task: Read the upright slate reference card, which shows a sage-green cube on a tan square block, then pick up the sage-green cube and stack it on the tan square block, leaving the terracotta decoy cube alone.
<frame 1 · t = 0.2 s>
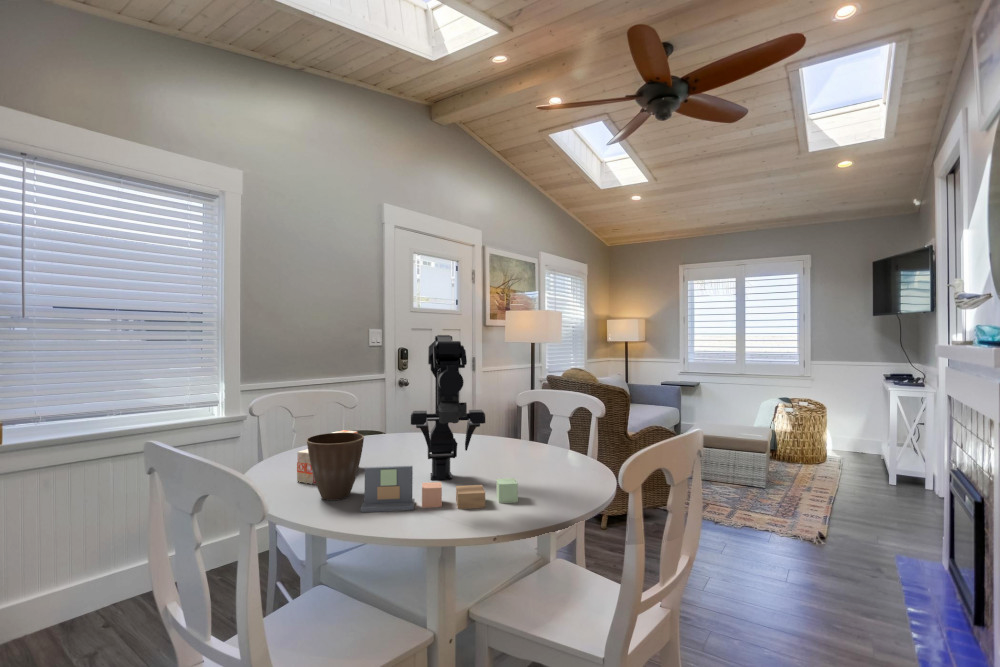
hand: (448, 450, 130), 14 cm above the table, fingers open, 9 cm apart
plant pot: (335, 496, 139), on the table
terracotta decoy: (431, 504, 132), on the table
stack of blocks: (329, 475, 160), on the table
reference card: (388, 507, 130), on the table
sage block: (506, 499, 136), on the table
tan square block: (470, 504, 133), on the table
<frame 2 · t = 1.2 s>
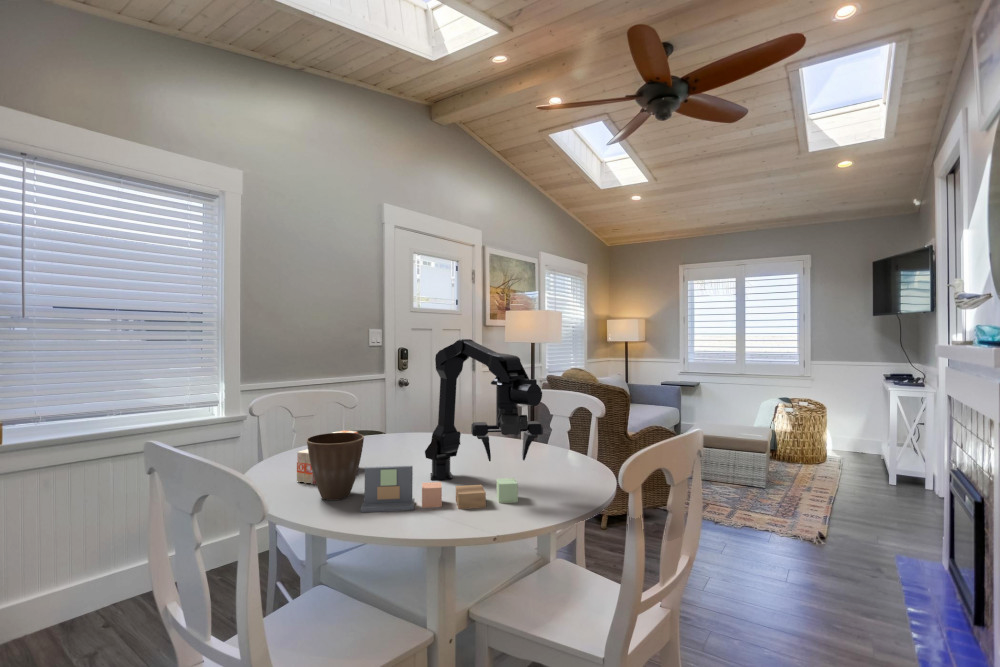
hand: (506, 460, 136), 10 cm above the table, fingers open, 9 cm apart
nothing on the table moved.
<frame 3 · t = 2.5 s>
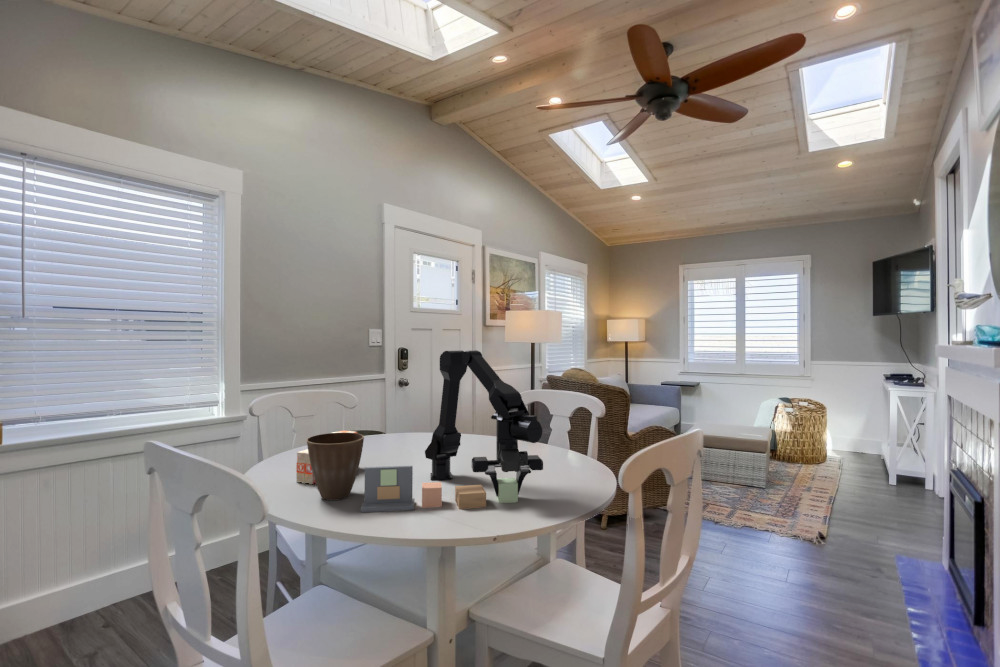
hand: (507, 495, 136), 1 cm above the table, fingers closed on sage block, 5 cm apart
sage block: (507, 499, 136), on the table, touching gripper
everything else where it was.
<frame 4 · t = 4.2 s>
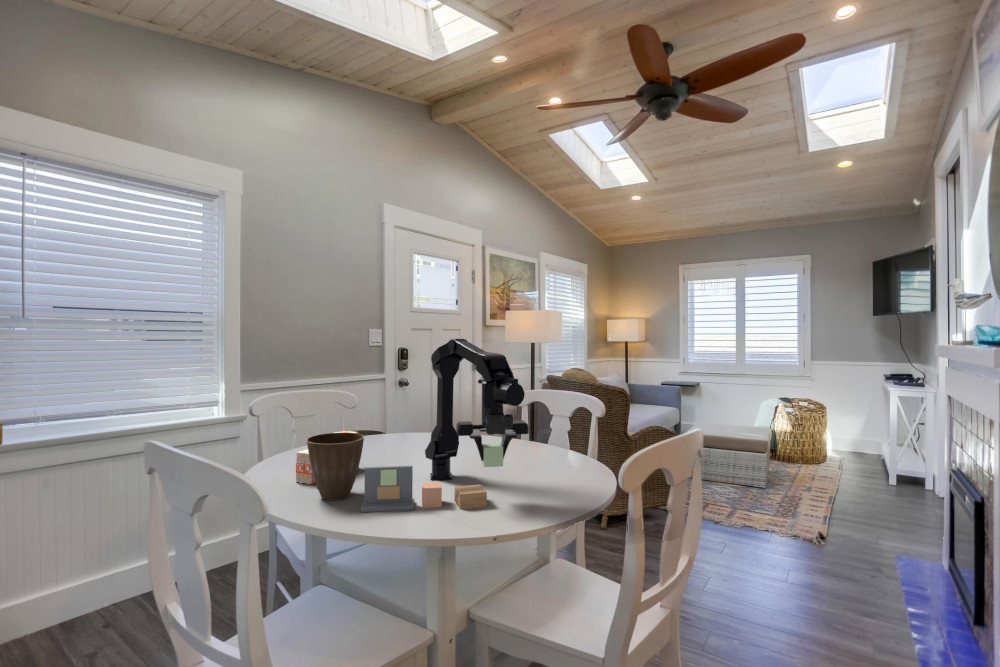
hand: (492, 460, 135), 11 cm above the table, fingers closed on sage block, 5 cm apart
sage block: (492, 464, 135), point 10 cm above the table, touching gripper
everything else where it was.
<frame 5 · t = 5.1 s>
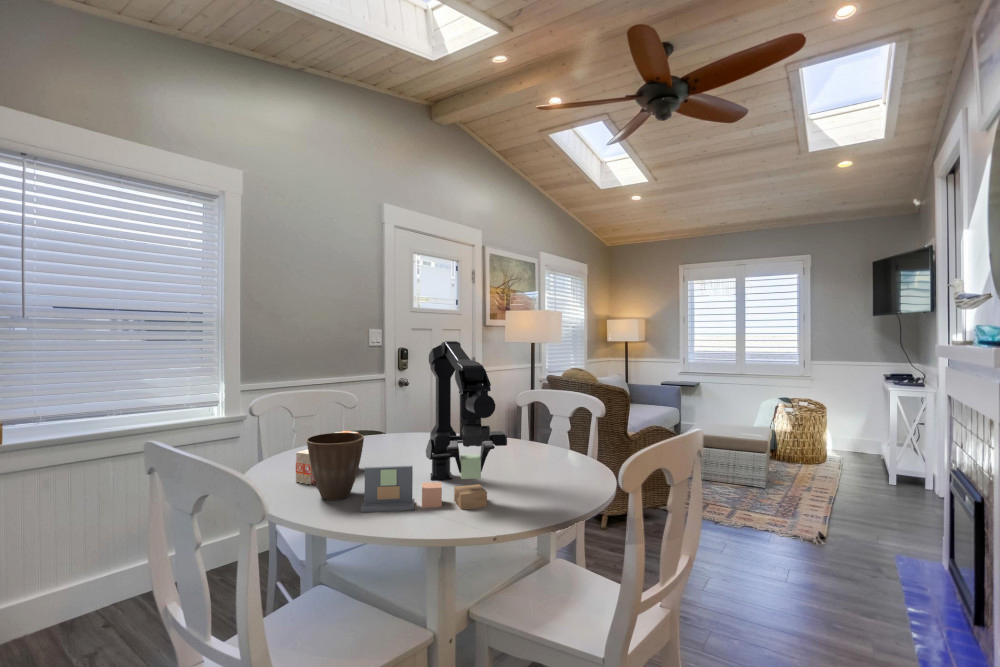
hand: (470, 472, 133), 8 cm above the table, fingers closed on sage block, 5 cm apart
sage block: (470, 476, 133), point 7 cm above the table, touching gripper
everything else where it was.
when the fingers open (6 cm above the table, at t = 5.8 s): sage block drops 1 cm, resting on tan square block.
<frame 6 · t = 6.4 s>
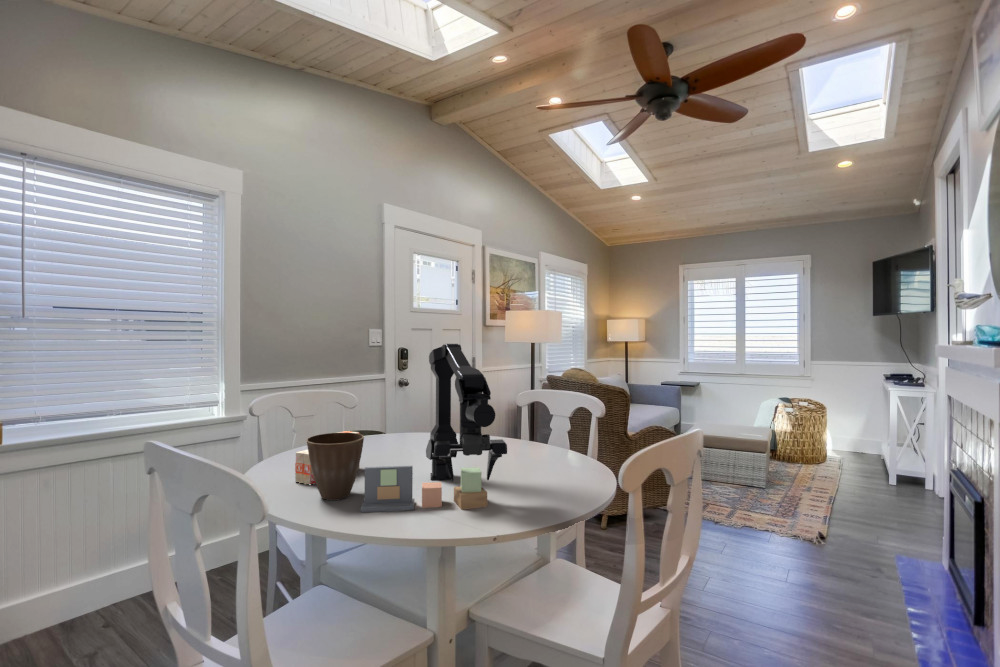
hand: (470, 480, 133), 6 cm above the table, fingers open, 9 cm apart
sage block: (470, 489, 133), point 4 cm above the table, touching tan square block
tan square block: (470, 504, 133), on the table, touching sage block
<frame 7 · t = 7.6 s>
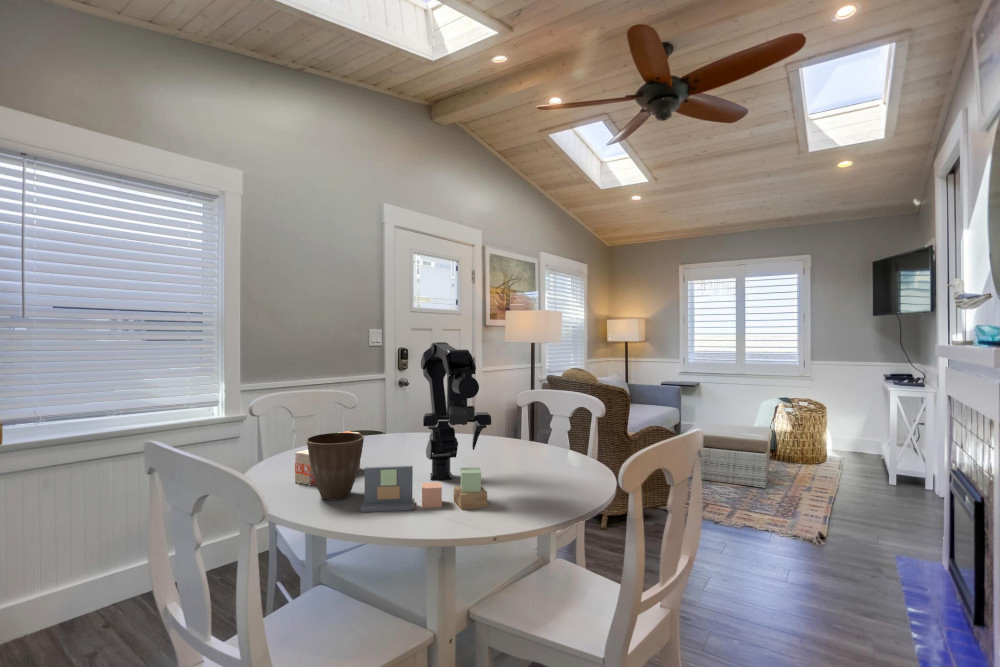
hand: (457, 449, 142), 12 cm above the table, fingers open, 9 cm apart
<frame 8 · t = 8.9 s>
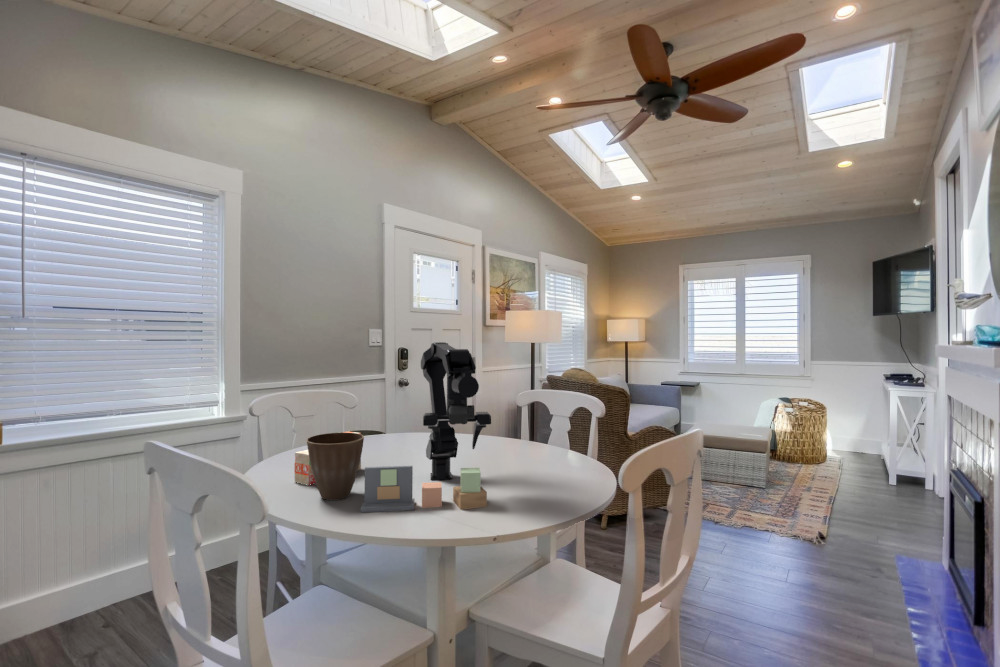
hand: (456, 449, 142), 12 cm above the table, fingers open, 9 cm apart
at the end: sage block 0.2 cm off-centre on the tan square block, point 4.0 cm above the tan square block's base; sage block tilted 0°; terracotta decoy moved 0.1 cm from its start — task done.
